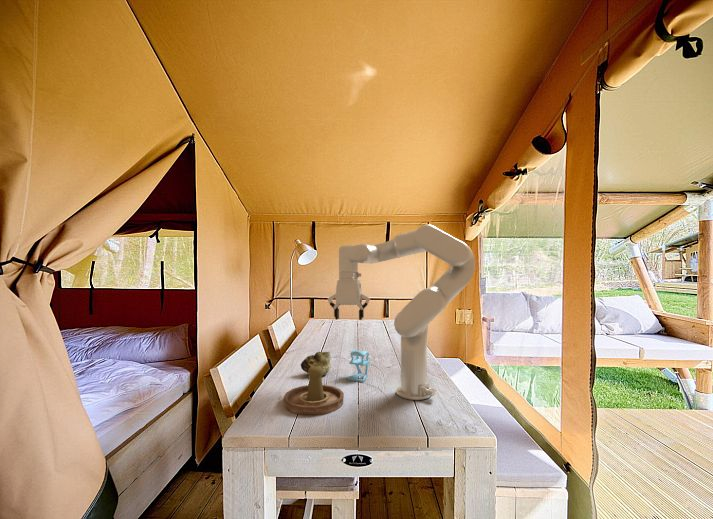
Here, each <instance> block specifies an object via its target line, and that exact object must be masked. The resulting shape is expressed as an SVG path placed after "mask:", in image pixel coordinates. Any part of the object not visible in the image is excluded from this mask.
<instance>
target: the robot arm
mask: <svg viewBox="0 0 713 519" xmlns="http://www.w3.org/2000/svg"><path fill="white" fill-rule="evenodd" d="M424 252H427V253H429V254H431V255H433V257H436V258H438V259H439V260H441V261H443V262H445V263H446V264H448V265H450V266H449V267H448V268H447V269H446V271H445V272H443V274H441V276H440V277H439V278H438V279H437V280H436V281H435V282H434V283H433V284H432V285H430V286H429V287H427V288H424V289H422V290H421V291H419V292H418V293H417V294H416V295H415V296H414V297H413V298H412V299H411V300H410V301H409V302H408V303H407V304H406V305H405V306H404V307H403V308H401V310H400V311H399V312H398V313H397V314H396V316H395V318H394V322H393V323H394V324H393V327H394V330H395V331H396V333H397V334H398V335H399V336H400V385H399V386H397V388H396V395H397V396H399V397H401V398H403V399H406V400H407V399H408V400H411V401H412V400H413V401H420V400H426V399H429V398H430V397H435V394H436V391H437V390H436V388H434V387H431V386H430V382H428V362H427V361H428V359H427V358H428V356H427V354H428V350H427V349H428V331H429V330H428V329H429V324H431V322H432V321H433V320H434V319H436V318H437V317H438V316H439V315H440V314H441V313H442V312H444V311H445V309H446V307H447V306H448V305H449V304H450V302H452V301H453V300H454V299H455V298H456V297H457V296H458V295H459V294H460V293H461V291H464V289H465V287H467V285H469V283H470V282H471V280H472V279H473V276H474V274H475V271H476V259H475V255H474V252H473V250H472V249H471V247H470V246H469V245H468V244H467V243H465V242H464V241H462V240H460V239H458V238H456V237H454V236H452V235H450V234H449V233H447V232H445V231H443V230H441V229H439V228H438V227H436V226H435V225H432V224H423V225H421V226H419V227H418V228H417V229H415V230H410V231H408V232H403V233H399V234H396V235H395V236H394V237H393V238H391V239H390V240H388V241H385V242H379V243H377V244H367V243H359V244H356V245H355V244H354V245H351V244H350V245H349V244H348V245H341V246H339V247H338V279H337V281H336V287H335V294H333V295H332V296H329V297H327V301H328V304H329V305H330V307H331V308H332V309H333V317H334V318H335V320H338V319H340V308H339V307H340V306H341V305H342V306H344V305H345V306H351V305H352V306H357V307H358V308H359V310H358V320H359V321H361V320H363V319H364V310H365V308H366V307H368V306H369V303H370V302H371V298H370V297H368V296H367V295H365V294H363V292H362V283H361V280H360V279H359V278H361V277H362V273H359V271H358V269H359V268H358V265H359V264H370V265H371V264H377V263H382V262H386V261H390V260H395V259H400V258H403V257H407V256H411V255H416V254H420V253H424ZM334 299H335V303H334V301H333V300H334ZM363 300H365V302H364V303H362V302H363Z"/></svg>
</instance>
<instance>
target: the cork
mask: <svg viewBox="0 0 713 519" xmlns="http://www.w3.org/2000/svg"><path fill="white" fill-rule="evenodd" d="M307 376H308V377H309V378H308V379H309V380H308V393H307V401H312V402H313V401H320V400H323V399H324V393H323V385H324V384H323V379H322V378H323V376H324V375H323V369H322V368H321V367H319V366H313V367H310V368H309V370H308V373H307Z"/></svg>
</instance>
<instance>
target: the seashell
mask: <svg viewBox="0 0 713 519" xmlns="http://www.w3.org/2000/svg"><path fill="white" fill-rule="evenodd" d="M313 366H319V367H321V368H322V369H323V375H322V376H325V375H327V374H328V373H330V370H331V368H332V363H331V352H330V351H317V352H315V354H311V355H308V356H307V357H306V358H304V359H303V360H302V361H301V363H300V368H301V370H303V372H305V373H307V374H308V370H309V368H310V367H313Z"/></svg>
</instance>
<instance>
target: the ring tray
mask: <svg viewBox="0 0 713 519" xmlns="http://www.w3.org/2000/svg"><path fill="white" fill-rule="evenodd" d="M308 385H309V384H308ZM308 385H307V384H306V385H301V386H298V387H294V388H292V389H290V390H289V391H287V392H285V394H284V396H283V404H284V405H283V406H284V408H285V410H286V411H288V412H290V413H293V414H296V415H300V416H319V415H326V414H329V413H330V414H331V413H332V412H335V411H337V410H338V409H340V408H341V407H342V406H343V405H344V392H343V390H341V389H340V388H338V387H335V386H333V385H326V384H322V385H323V393H324V399H323V400H320V401H313V402H312V401H307V393H308Z"/></svg>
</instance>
